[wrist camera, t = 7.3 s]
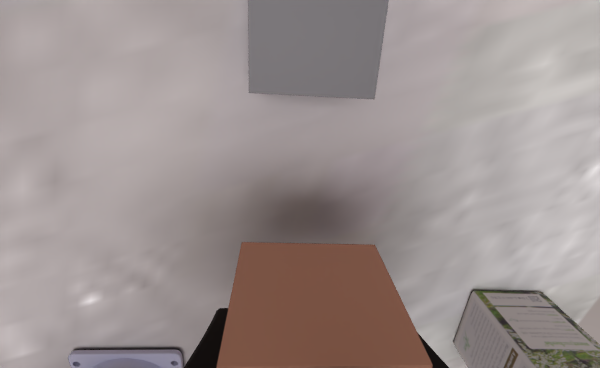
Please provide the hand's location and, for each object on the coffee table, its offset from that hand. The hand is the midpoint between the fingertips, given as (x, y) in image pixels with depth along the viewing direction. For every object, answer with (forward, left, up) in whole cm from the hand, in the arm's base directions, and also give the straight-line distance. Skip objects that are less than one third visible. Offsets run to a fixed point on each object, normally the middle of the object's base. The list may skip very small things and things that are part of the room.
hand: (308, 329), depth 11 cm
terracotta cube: (0, 0, -2) cm, 2 cm away
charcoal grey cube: (+10, 0, -10) cm, 14 cm away
